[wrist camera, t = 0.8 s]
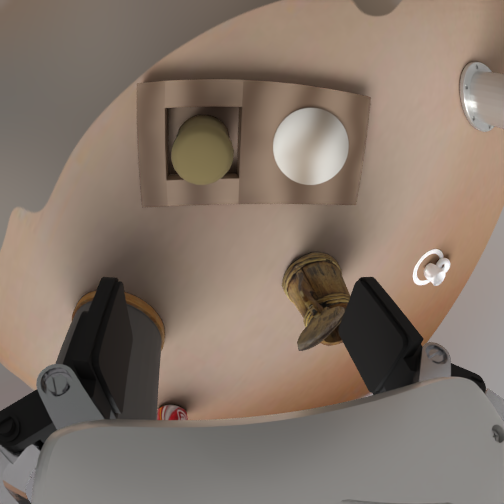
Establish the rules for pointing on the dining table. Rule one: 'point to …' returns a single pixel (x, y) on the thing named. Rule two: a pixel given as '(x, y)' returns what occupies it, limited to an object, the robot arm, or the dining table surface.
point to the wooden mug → (317, 298)
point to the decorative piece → (134, 356)
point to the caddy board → (259, 143)
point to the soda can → (171, 413)
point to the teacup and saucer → (432, 269)
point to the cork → (202, 150)
